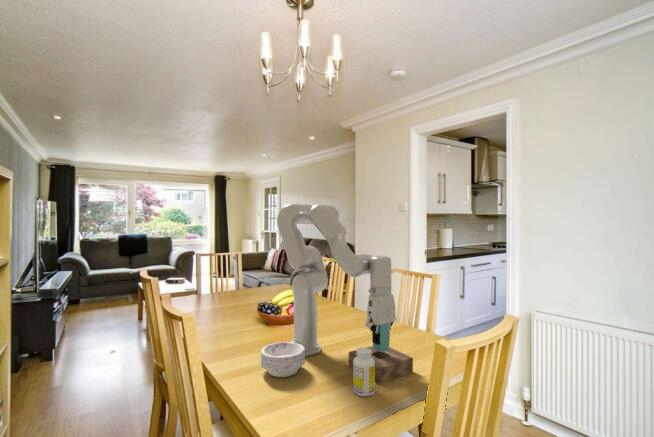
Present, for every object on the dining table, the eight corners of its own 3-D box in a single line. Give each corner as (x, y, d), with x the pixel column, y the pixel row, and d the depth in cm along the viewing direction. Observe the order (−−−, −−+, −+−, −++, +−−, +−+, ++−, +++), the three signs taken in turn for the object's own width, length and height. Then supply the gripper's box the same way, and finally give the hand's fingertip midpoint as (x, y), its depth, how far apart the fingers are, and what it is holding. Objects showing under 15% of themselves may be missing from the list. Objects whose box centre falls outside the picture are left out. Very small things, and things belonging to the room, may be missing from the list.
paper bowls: (283, 358, 126) (283, 337, 126) (313, 370, 117) (313, 347, 117) (251, 372, 115) (251, 349, 115) (281, 386, 105) (281, 361, 105)
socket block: (378, 384, 107) (378, 368, 107) (348, 365, 120) (348, 352, 120) (412, 372, 116) (412, 357, 116) (381, 356, 129) (381, 343, 129)
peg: (380, 352, 115) (380, 323, 115) (373, 348, 118) (372, 320, 118) (389, 349, 117) (389, 321, 117) (381, 346, 121) (381, 319, 121)
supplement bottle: (372, 386, 106) (373, 346, 106) (376, 397, 99) (376, 354, 99) (351, 386, 105) (352, 346, 105) (354, 397, 99) (354, 354, 99)
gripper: (369, 295, 110) (370, 350, 110) (405, 289, 120) (405, 340, 119) (355, 291, 117) (356, 343, 116) (390, 286, 126) (390, 334, 126)
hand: (381, 341), depth 118 cm, fingers closed on peg, 4 cm apart
